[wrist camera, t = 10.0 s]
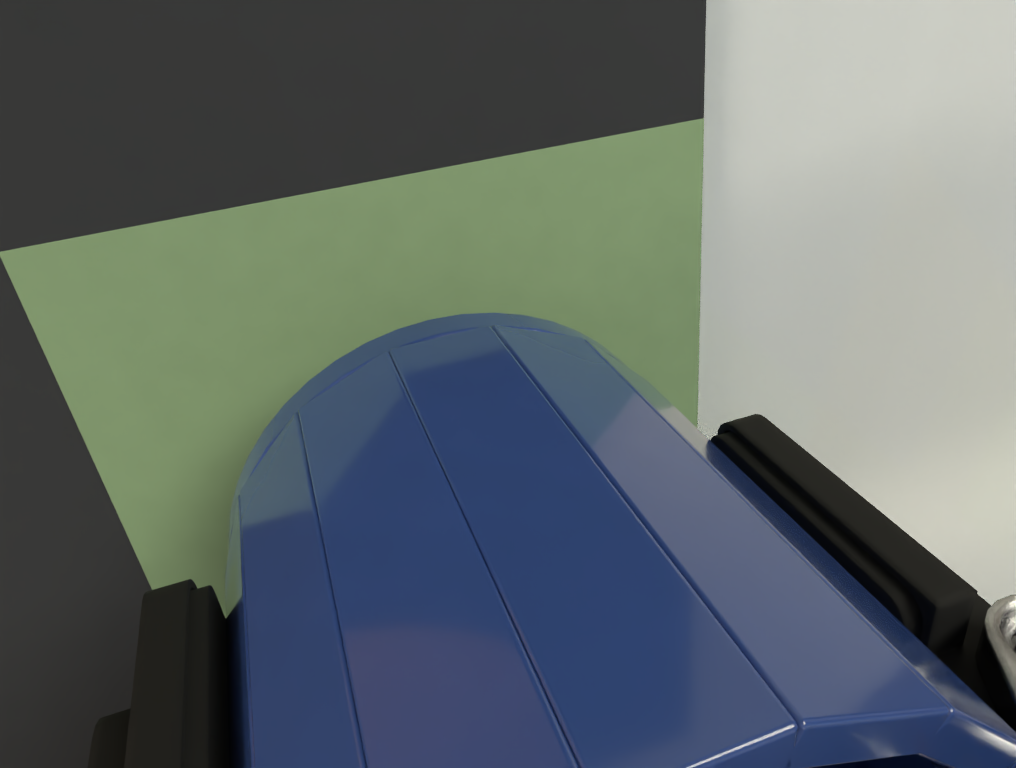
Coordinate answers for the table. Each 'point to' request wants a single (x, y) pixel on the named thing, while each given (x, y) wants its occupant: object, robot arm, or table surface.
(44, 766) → the desk mat
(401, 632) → the blue cup
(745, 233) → the table surface
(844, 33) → the table surface
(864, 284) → the table surface
